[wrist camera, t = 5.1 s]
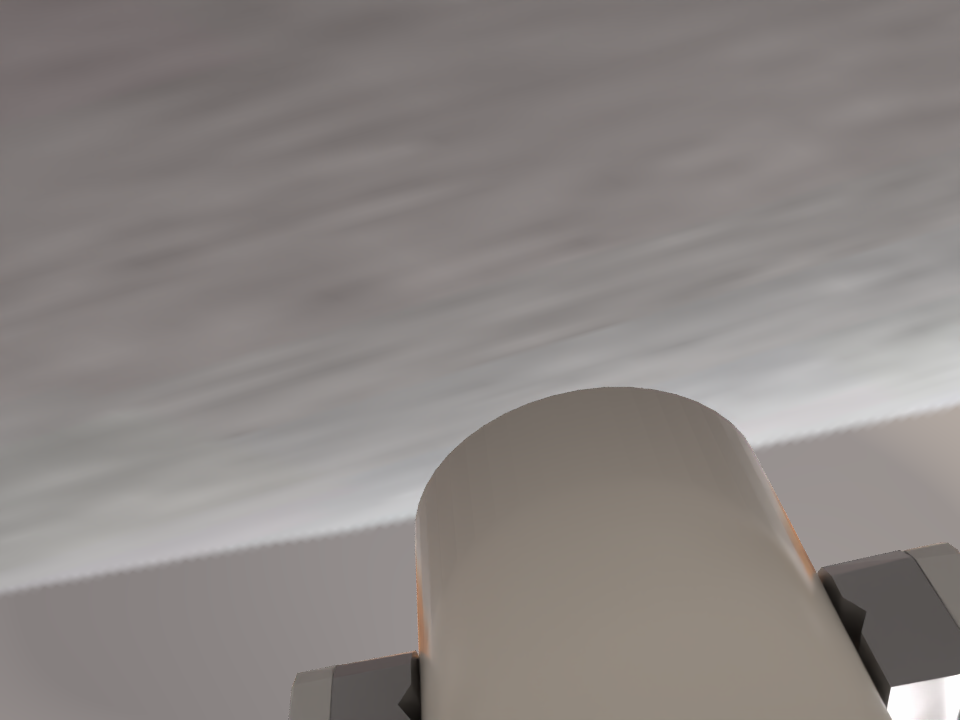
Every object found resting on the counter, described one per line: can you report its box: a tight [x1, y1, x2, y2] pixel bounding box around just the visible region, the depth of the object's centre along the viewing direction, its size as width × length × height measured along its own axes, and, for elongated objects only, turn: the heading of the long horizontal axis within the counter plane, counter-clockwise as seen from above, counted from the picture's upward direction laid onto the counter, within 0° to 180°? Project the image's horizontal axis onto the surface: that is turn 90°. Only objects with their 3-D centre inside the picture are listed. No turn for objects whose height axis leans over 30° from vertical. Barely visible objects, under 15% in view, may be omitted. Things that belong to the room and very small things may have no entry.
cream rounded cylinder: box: [415, 387, 892, 720], centre depth 10 cm, size 5×5×5 cm
